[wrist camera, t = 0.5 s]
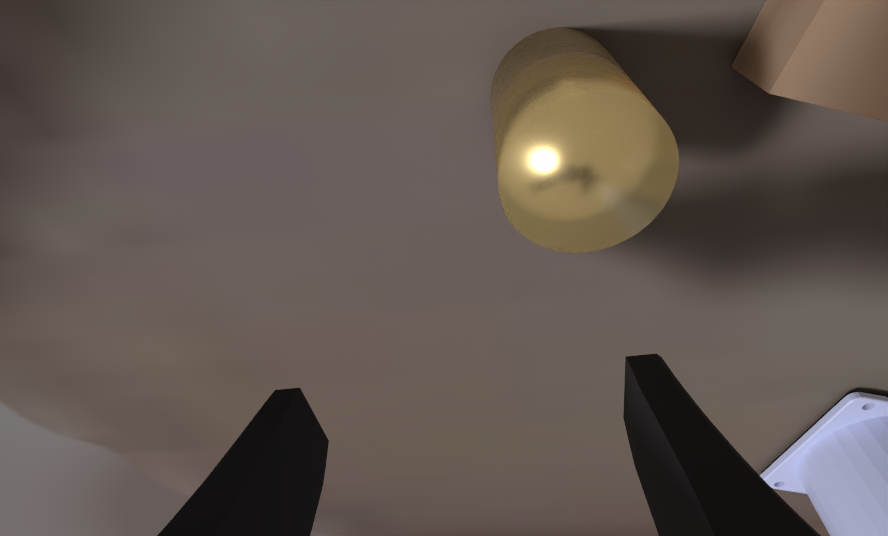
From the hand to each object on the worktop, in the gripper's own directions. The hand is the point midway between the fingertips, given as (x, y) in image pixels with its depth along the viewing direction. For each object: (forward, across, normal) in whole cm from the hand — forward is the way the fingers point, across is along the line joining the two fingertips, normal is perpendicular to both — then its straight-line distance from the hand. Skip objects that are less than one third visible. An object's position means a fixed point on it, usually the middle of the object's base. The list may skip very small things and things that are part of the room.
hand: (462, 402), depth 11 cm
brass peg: (+9, -3, -3) cm, 10 cm away
